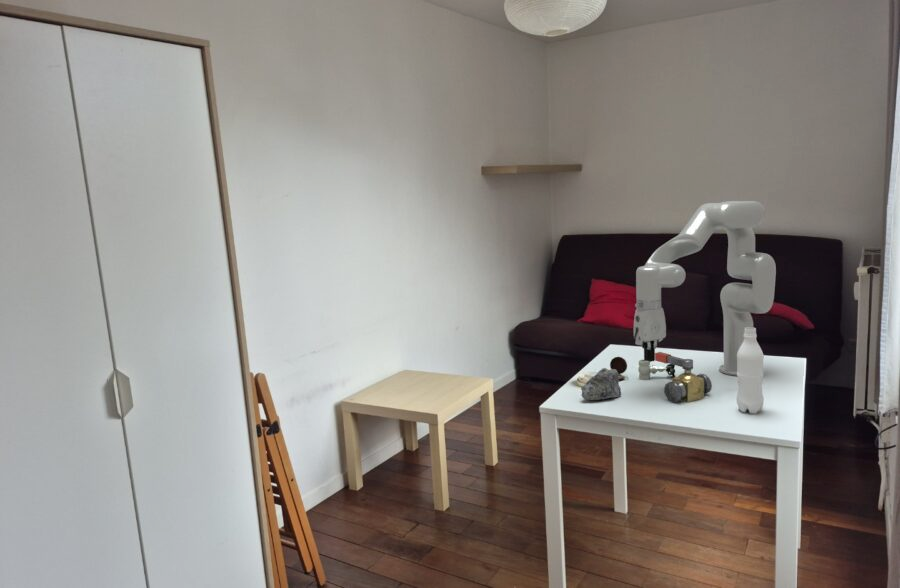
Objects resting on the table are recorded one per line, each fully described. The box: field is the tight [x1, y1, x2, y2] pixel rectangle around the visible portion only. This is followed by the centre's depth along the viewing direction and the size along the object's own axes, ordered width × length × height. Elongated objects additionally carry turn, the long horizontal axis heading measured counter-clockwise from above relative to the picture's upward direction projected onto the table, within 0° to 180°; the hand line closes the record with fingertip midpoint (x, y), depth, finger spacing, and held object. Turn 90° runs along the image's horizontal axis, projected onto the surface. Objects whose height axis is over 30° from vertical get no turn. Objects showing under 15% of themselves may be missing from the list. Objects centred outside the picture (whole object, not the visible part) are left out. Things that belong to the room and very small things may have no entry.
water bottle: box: [736, 326, 765, 415], centre depth 193 cm, size 7×7×25 cm
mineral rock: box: [580, 367, 622, 401], centre depth 215 cm, size 13×11×10 cm
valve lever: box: [654, 351, 694, 371], centre depth 213 cm, size 15×3×3 cm, turn 27°
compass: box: [609, 356, 629, 382], centre depth 234 cm, size 8×8×7 cm
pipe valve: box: [663, 369, 713, 404], centre depth 209 cm, size 14×8×9 cm, turn 117°
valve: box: [637, 358, 676, 381], centre depth 231 cm, size 7×7×12 cm
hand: (649, 360), depth 212 cm, fingers closed
